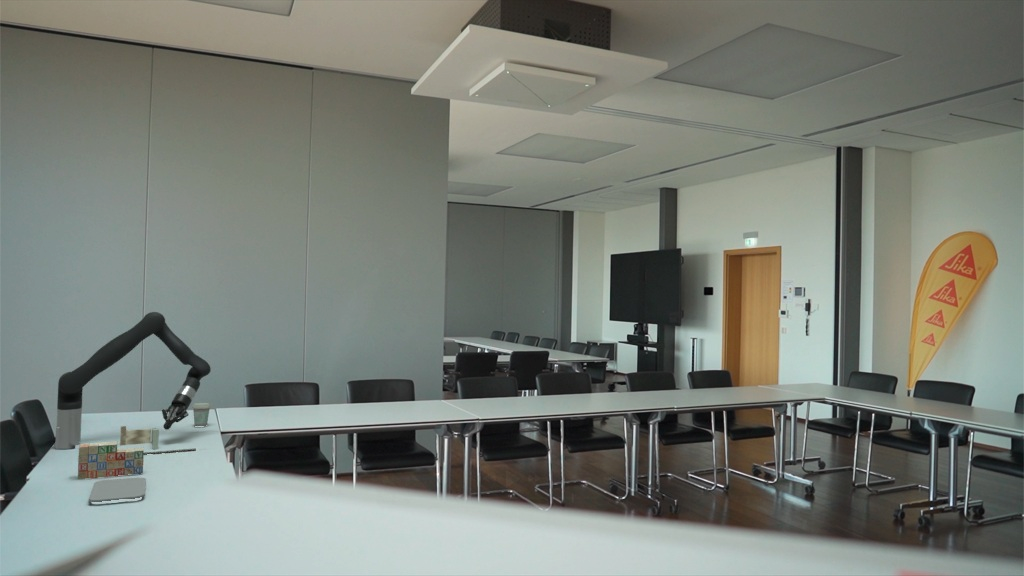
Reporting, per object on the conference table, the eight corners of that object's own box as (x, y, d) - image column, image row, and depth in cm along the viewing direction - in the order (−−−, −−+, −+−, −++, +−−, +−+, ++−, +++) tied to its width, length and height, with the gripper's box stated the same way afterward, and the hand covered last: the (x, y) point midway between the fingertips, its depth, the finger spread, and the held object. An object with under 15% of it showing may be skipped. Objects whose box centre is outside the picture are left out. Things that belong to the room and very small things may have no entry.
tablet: (87, 507, 221) (88, 500, 221) (94, 487, 244) (95, 480, 244) (144, 502, 228) (144, 495, 228) (146, 483, 251) (146, 476, 251)
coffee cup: (188, 426, 355) (189, 404, 356) (201, 424, 363) (202, 402, 363) (200, 428, 352) (201, 405, 352) (213, 426, 360) (214, 403, 360)
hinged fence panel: (150, 442, 311) (151, 423, 311) (155, 442, 312) (156, 423, 312) (152, 449, 297) (153, 429, 297) (158, 449, 298) (158, 429, 298)
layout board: (118, 457, 286) (118, 454, 286) (116, 444, 309) (116, 442, 309) (195, 451, 302) (196, 448, 302) (188, 439, 325) (188, 437, 325)
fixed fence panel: (120, 446, 303) (121, 426, 303) (120, 445, 304) (120, 426, 305) (150, 443, 309) (151, 425, 309) (150, 442, 311) (151, 424, 311)
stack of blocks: (143, 470, 267) (144, 439, 267) (142, 474, 261) (144, 442, 261) (79, 475, 257) (80, 443, 257) (77, 479, 251) (78, 446, 252)
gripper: (167, 392, 317) (148, 422, 304) (193, 393, 315) (175, 424, 302) (174, 401, 322) (156, 432, 310) (200, 403, 320) (182, 434, 308)
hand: (165, 428), depth 306 cm, fingers closed
